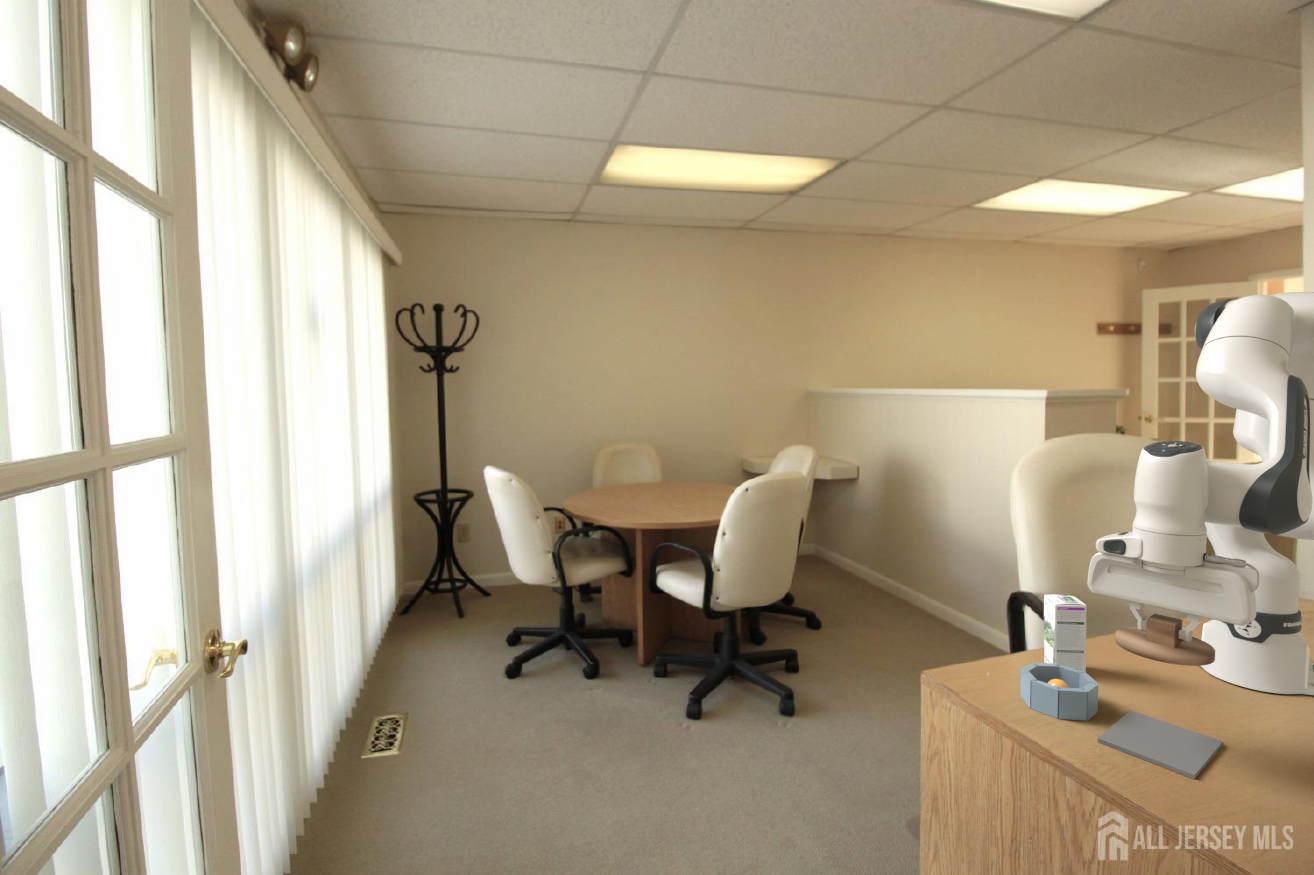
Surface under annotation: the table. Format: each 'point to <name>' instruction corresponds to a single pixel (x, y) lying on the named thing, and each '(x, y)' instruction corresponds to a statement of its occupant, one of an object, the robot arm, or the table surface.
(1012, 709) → the table surface
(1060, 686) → the bowl
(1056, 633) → the syrup box
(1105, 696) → the table surface
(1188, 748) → the mat
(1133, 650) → the lid
